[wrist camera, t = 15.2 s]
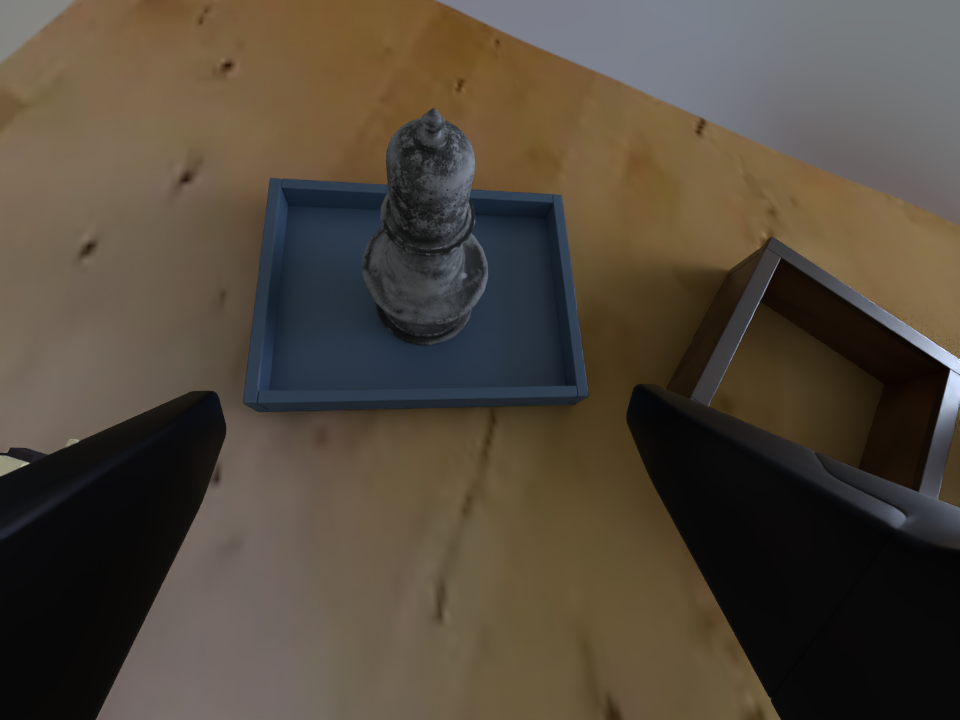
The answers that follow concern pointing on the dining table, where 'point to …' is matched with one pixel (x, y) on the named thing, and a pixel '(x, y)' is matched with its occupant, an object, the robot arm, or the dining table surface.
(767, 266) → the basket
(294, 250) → the tray
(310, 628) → the dining table surface
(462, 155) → the grey chess piece
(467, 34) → the dining table surface
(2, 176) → the dining table surface
